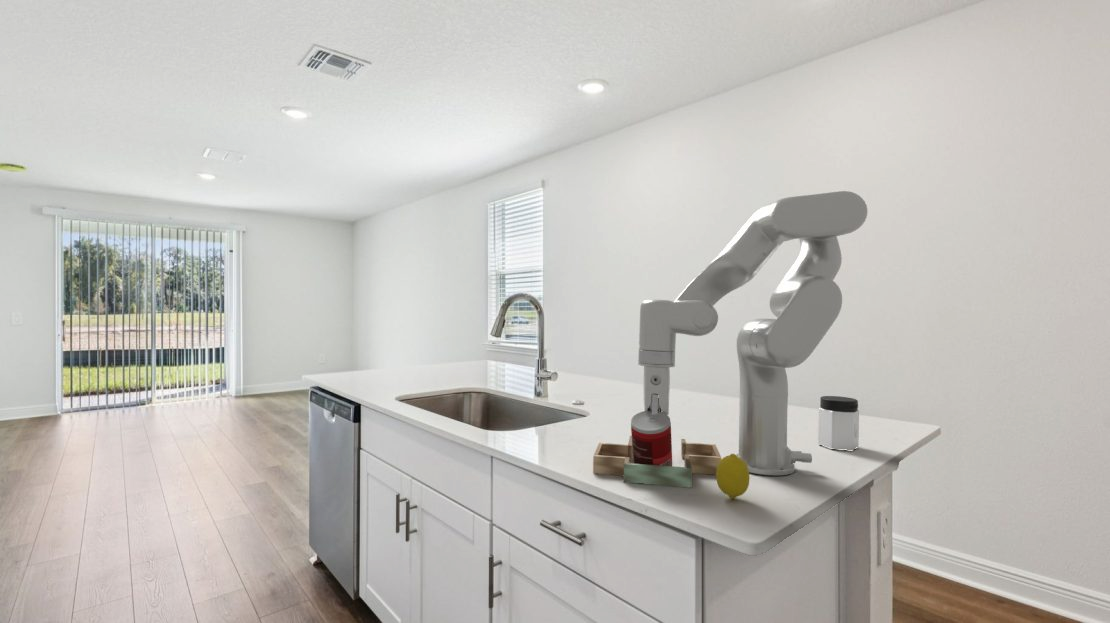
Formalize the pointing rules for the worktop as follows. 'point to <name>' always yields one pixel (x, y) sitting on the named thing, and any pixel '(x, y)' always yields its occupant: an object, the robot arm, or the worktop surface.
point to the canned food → (651, 439)
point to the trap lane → (619, 456)
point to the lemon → (732, 476)
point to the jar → (838, 422)
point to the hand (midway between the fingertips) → (653, 445)
